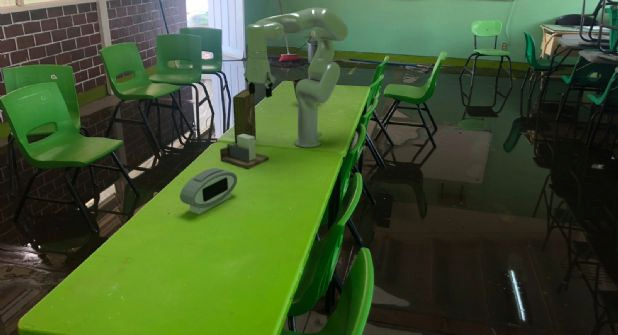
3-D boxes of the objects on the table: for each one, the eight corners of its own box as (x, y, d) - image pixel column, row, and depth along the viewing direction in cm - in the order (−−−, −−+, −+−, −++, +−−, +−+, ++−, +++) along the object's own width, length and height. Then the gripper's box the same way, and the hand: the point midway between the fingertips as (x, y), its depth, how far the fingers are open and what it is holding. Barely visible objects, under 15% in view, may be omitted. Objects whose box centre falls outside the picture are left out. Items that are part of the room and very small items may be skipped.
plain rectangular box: (244, 154, 216) (243, 133, 212) (255, 158, 212) (254, 136, 208) (237, 157, 213) (236, 135, 209) (249, 160, 209) (248, 139, 205)
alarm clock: (194, 218, 163) (191, 184, 158) (181, 214, 166) (178, 180, 161) (238, 194, 181) (236, 163, 176) (226, 190, 184) (224, 159, 179)
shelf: (242, 152, 223) (241, 136, 220) (268, 159, 214) (268, 144, 212) (220, 160, 213) (219, 144, 210) (247, 169, 204) (246, 152, 201)
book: (246, 137, 242) (244, 89, 233) (256, 138, 241) (255, 89, 232) (235, 148, 227) (232, 97, 218) (246, 149, 226) (244, 97, 217)
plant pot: (316, 109, 293) (317, 84, 287) (292, 109, 293) (292, 83, 287) (316, 103, 307) (317, 78, 301) (293, 103, 307) (293, 78, 301)
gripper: (236, 54, 200) (239, 94, 207) (267, 58, 190) (270, 100, 197) (248, 51, 205) (251, 90, 212) (279, 55, 196) (281, 96, 203)
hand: (260, 95), depth 205 cm, fingers open, 9 cm apart
